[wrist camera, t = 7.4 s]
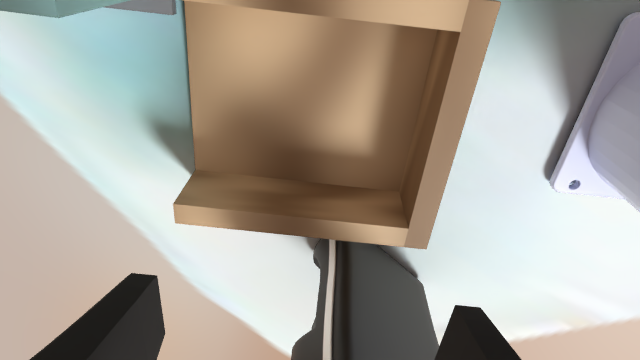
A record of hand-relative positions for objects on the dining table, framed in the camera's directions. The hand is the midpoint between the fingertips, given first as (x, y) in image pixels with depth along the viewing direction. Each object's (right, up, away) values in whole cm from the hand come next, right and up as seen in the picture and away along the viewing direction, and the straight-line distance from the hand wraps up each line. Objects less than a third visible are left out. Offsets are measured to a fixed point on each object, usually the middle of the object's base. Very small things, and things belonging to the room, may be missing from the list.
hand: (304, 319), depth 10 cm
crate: (0, +7, +8) cm, 11 cm away
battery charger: (+3, -1, +13) cm, 13 cm away
